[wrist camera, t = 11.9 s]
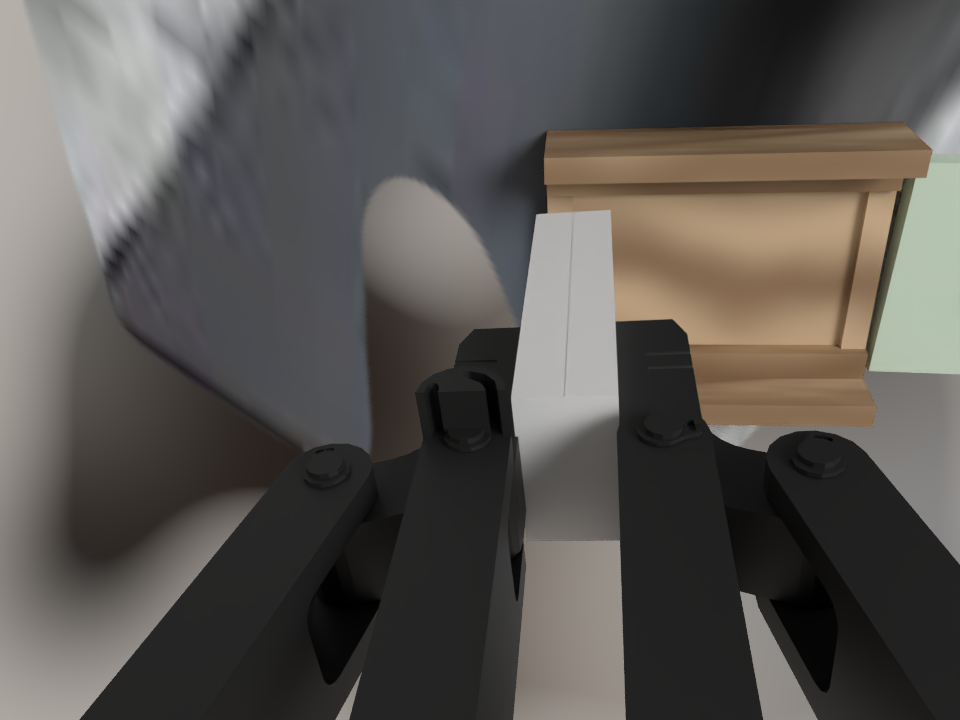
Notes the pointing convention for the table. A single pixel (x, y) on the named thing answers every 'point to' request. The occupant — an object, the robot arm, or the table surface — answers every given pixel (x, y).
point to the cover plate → (921, 278)
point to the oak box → (749, 251)
